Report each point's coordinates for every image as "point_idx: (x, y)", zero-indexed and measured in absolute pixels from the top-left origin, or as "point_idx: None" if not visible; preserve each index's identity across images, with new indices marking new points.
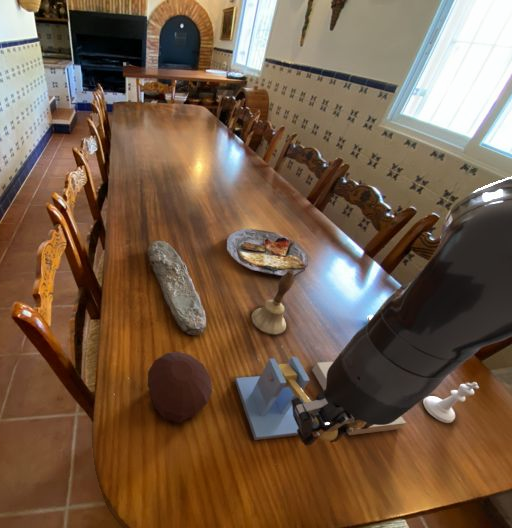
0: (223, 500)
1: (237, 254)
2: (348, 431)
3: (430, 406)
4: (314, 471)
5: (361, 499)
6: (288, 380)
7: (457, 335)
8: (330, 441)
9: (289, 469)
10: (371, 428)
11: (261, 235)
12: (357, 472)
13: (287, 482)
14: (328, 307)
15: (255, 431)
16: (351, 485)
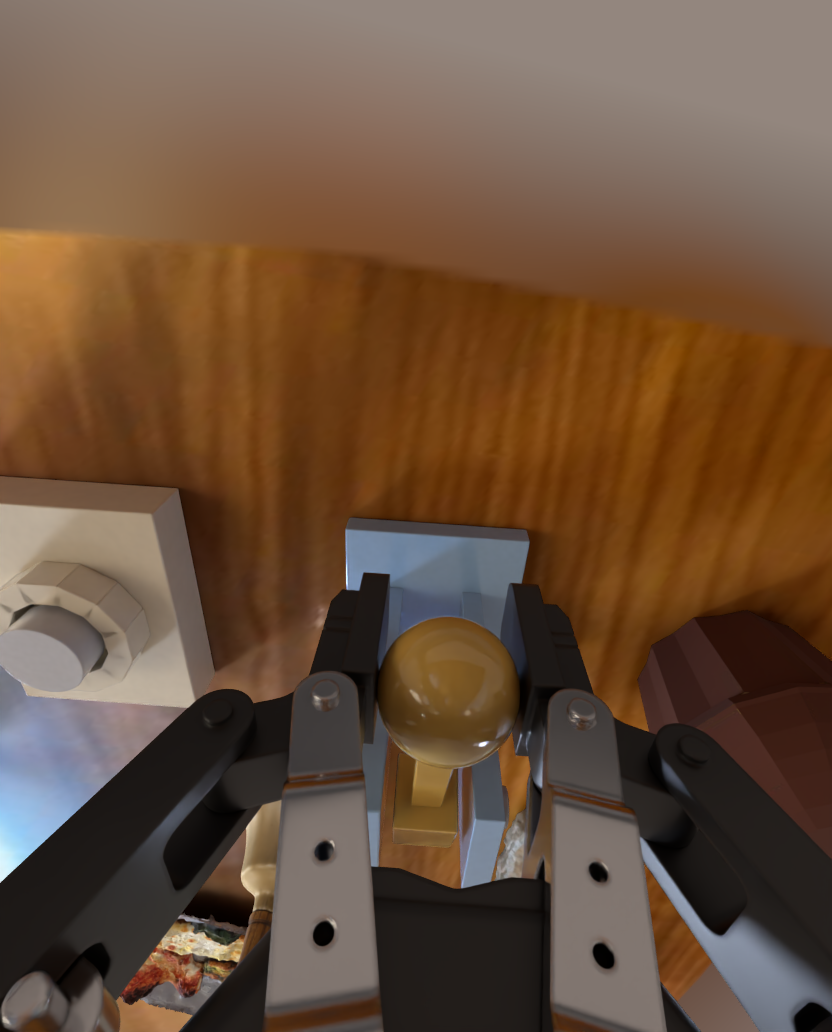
0: (738, 392)
1: None
2: (340, 685)
3: None
4: (365, 411)
5: (233, 301)
6: (441, 805)
7: None
8: (388, 576)
9: (453, 433)
10: (87, 502)
11: (197, 994)
12: (204, 381)
13: (482, 399)
14: (67, 811)
15: (523, 557)
16: (249, 348)
